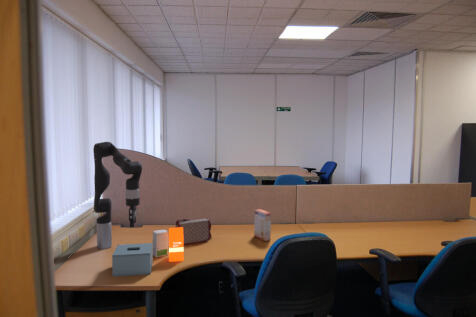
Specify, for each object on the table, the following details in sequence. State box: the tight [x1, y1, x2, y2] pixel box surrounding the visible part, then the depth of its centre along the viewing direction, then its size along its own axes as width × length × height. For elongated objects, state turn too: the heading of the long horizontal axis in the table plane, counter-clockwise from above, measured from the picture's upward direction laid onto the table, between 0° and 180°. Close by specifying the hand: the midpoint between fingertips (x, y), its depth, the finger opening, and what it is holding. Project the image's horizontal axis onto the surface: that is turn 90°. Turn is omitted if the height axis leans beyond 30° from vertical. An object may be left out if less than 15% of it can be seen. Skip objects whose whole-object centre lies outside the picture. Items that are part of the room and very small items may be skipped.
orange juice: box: [168, 227, 185, 263], centre depth 194 cm, size 8×9×20 cm
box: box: [111, 242, 154, 277], centre depth 179 cm, size 16×20×12 cm
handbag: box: [175, 217, 213, 246], centre depth 226 cm, size 28×11×17 cm, turn 120°
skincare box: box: [152, 229, 169, 258], centre depth 200 cm, size 8×7×16 cm
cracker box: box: [253, 208, 272, 242], centre depth 235 cm, size 14×6×21 cm, turn 29°
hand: (132, 224), depth 178 cm, fingers open, 8 cm apart
